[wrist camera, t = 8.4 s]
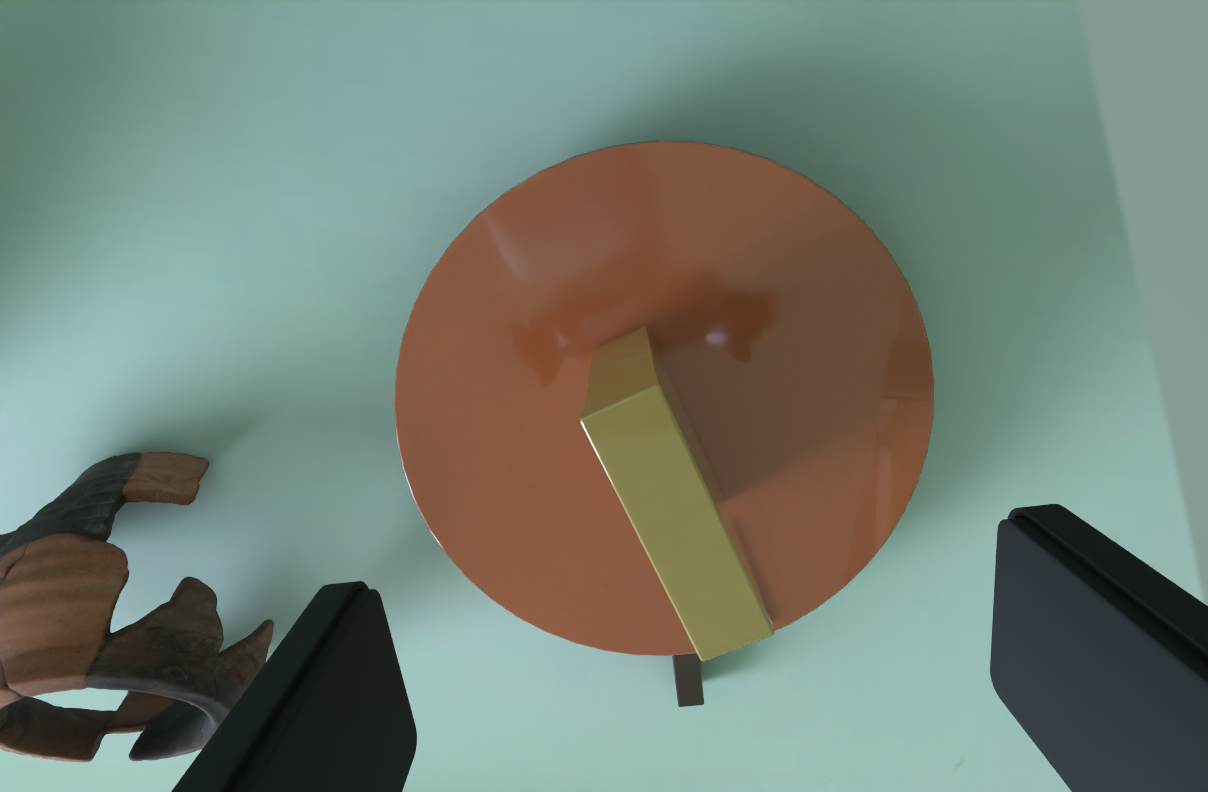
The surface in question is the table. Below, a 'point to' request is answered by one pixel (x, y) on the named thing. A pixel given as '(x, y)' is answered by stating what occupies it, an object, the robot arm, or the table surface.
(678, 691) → the dark grey rectangular block
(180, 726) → the pottery mug
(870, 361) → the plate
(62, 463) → the table surface
